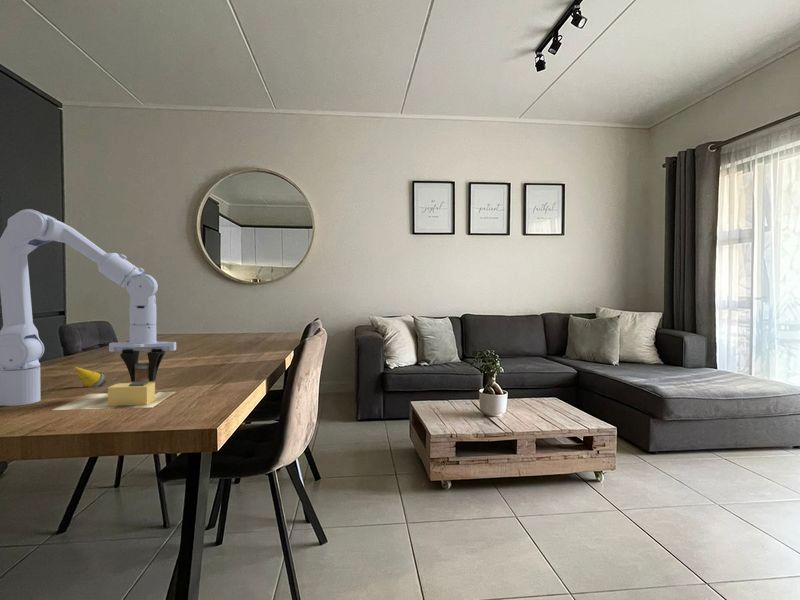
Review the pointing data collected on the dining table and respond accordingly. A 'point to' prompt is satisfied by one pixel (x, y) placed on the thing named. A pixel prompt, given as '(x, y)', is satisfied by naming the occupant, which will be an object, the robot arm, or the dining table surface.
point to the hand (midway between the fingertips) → (143, 380)
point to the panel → (102, 402)
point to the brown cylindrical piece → (142, 372)
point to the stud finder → (131, 393)
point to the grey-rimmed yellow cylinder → (90, 378)
